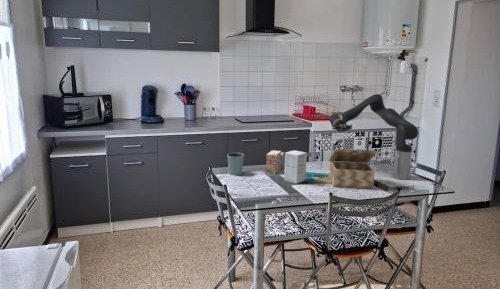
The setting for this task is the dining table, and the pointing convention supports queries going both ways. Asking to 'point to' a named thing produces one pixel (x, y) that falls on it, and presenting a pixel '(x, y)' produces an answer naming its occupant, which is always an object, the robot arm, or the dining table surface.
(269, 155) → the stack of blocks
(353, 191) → the dining table surface
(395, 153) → the robot arm
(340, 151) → the box lid
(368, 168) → the oak box
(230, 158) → the green cup
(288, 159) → the supplement box
